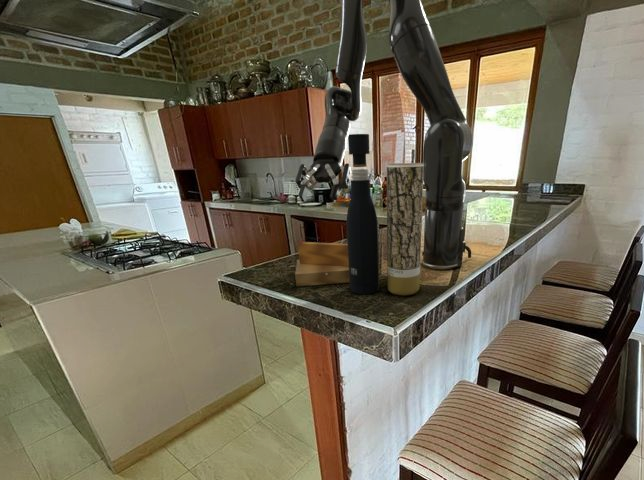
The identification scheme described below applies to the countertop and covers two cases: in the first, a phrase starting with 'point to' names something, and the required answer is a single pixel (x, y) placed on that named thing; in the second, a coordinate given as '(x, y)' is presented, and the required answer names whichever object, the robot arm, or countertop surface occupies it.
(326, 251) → the tan wooden flat block
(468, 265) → the countertop surface
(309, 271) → the wooden box
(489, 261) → the countertop surface
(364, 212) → the black water bottle
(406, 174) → the paper tube
